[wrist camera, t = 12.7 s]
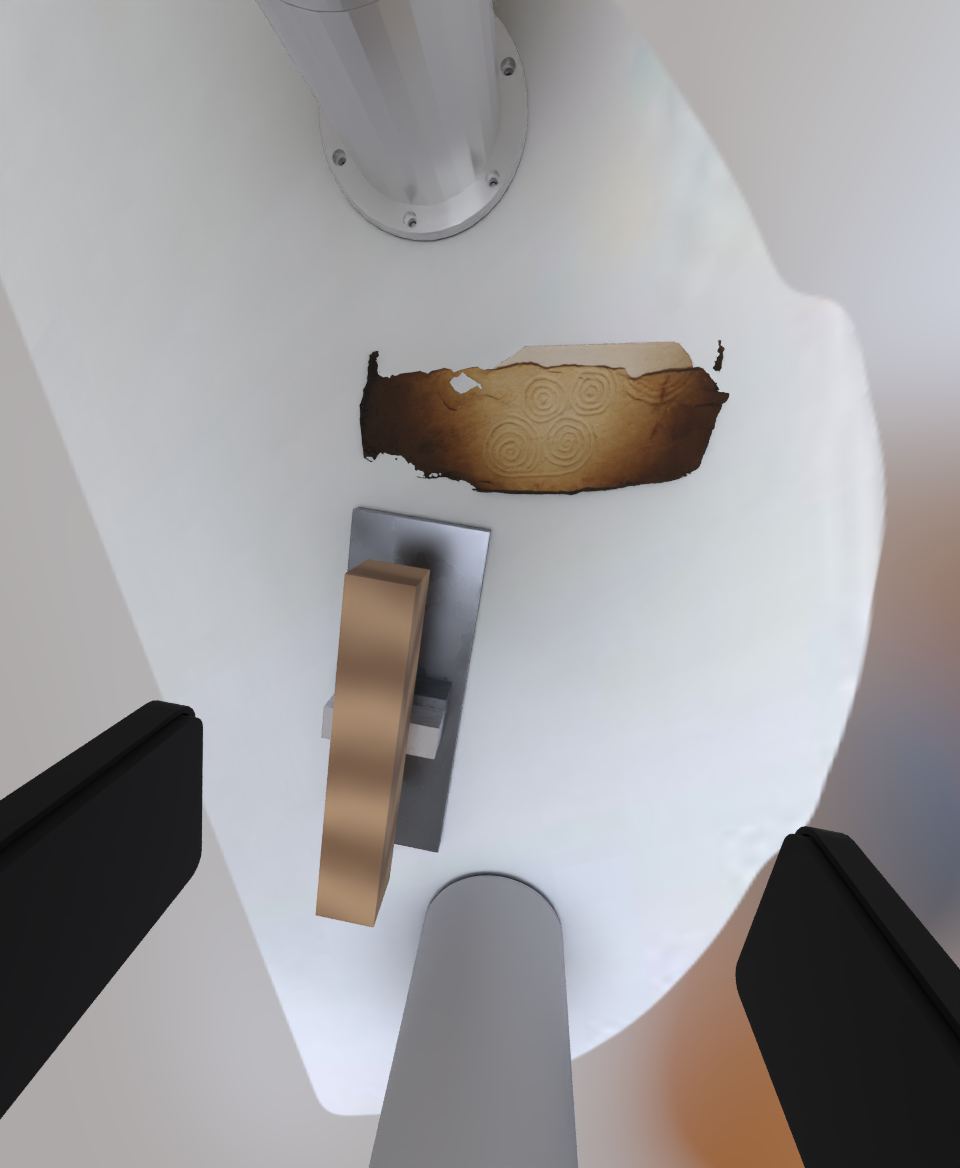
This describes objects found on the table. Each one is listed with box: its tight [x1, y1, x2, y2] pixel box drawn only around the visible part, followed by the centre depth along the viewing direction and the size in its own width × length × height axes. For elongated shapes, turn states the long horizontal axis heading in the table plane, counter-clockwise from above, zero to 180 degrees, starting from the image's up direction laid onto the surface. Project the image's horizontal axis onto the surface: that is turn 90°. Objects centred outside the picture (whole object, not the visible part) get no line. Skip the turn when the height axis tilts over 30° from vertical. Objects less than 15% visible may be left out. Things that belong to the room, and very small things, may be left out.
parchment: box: [360, 340, 729, 495], centre depth 35 cm, size 25×10×1 cm, turn 90°
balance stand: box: [321, 507, 491, 853], centre depth 38 cm, size 28×10×7 cm, turn 171°
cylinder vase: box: [369, 875, 578, 1168], centre depth 35 cm, size 12×12×25 cm
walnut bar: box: [316, 559, 430, 927], centre depth 33 cm, size 24×4×4 cm, turn 171°
